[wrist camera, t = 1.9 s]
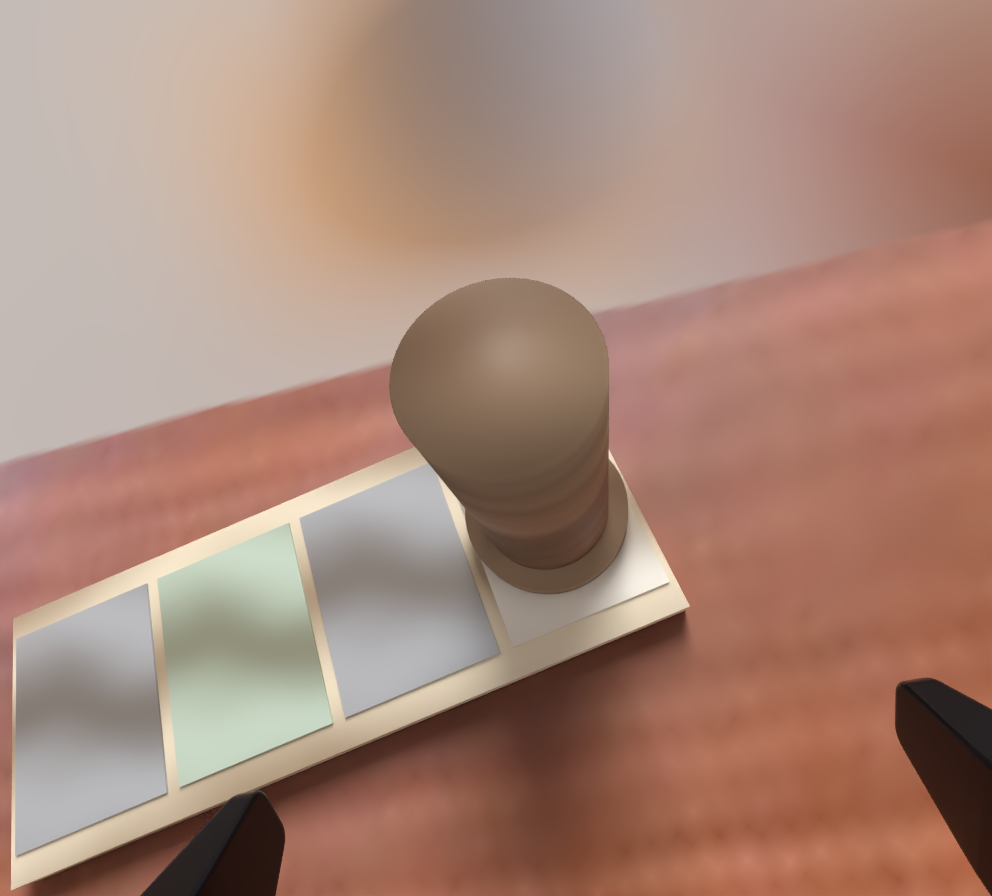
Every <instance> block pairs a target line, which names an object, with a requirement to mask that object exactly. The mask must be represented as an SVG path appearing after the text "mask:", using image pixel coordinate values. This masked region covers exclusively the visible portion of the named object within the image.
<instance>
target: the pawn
mask: <svg viewBox="0 0 992 896" xmlns="http://www.w3.org/2000/svg"><path fill="white" fill-rule="evenodd" d="M389 389H390V399H391V404H392V408H393V412H394V414H395V417H396V419H397V421H398V424H399V425H400V427H401V429H402V430H403V432H404V433H405V435H406V436H407V437H408V439H409V440H410V441H411V442H412V444H413V445H414V446H415V447H416V449H417V450H418V451H419V452H420V453H421V455H422V456H423V457H424V458H425V460H426V461H427V462H428V463H429V465H430V466H431V467H432V468H433V470H434V471H435V472H436V473H437V475H438V476H439V477H440V478H441V479H442V481H443V482H444V483H445V484H446V486H447V487H448V488H449V489H450V491H451V492H452V493H453V494H454V496H455V497H456V498H457V499H458V500H459V502H460V503H461V504H462V505H463V507H464V508H465V521H466V528H467V532H468V535H469V539H470V541H471V543H472V545H473V548H474V549H475V551H476V553H477V554H478V556H479V557H480V559H481V560H482V561H483V562H484V563H485V565H486V566H487V567H488V568H489V569H490V570H491V571H493V572H494V573H495V574H496V575H497V576H498V577H499V578H501V579H502V580H503V581H505V582H506V583H508V584H510V585H512V586H514V587H516V588H518V589H521V590H524V591H527V592H532V593H537V594H559V593H564V592H569V591H572V590H575V589H578V588H580V587H582V586H584V585H586V584H588V583H590V582H592V581H593V580H595V579H596V578H597V577H599V576H600V575H601V574H602V573H603V572H604V571H605V570H606V569H607V568H608V567H609V566H610V565H611V563H612V562H613V561H614V559H615V558H616V556H617V554H618V553H619V551H620V549H621V546H622V544H623V541H624V538H625V535H626V529H627V522H628V498H627V492H626V489H625V485H624V483H623V480H622V478H621V476H620V474H619V472H618V470H617V469H616V467H615V466H614V464H613V463H612V462H611V461H610V459H609V358H608V351H607V346H606V342H605V339H604V336H603V334H602V332H601V329H600V327H599V325H598V324H597V322H596V321H595V319H594V318H593V316H592V315H591V313H590V312H589V311H588V310H587V309H586V308H585V307H584V306H583V305H582V304H581V303H580V302H579V301H577V300H576V299H575V298H574V297H572V296H571V295H569V294H567V293H566V292H564V291H562V290H561V289H558V288H556V287H554V286H551V285H549V284H546V283H542V282H539V281H534V280H529V279H520V278H499V279H492V280H485V281H481V282H478V283H474V284H471V285H468V286H465V287H463V288H460V289H458V290H456V291H454V292H452V293H450V294H448V295H446V296H445V297H443V298H441V299H440V300H438V301H437V302H435V303H434V304H433V305H432V306H430V307H429V308H428V309H427V310H425V311H424V312H423V313H422V314H421V315H420V316H419V317H418V318H417V319H416V321H415V322H414V323H413V324H412V325H411V327H410V328H409V329H408V331H407V332H406V334H405V335H404V337H403V339H402V340H401V342H400V344H399V347H398V349H397V351H396V353H395V356H394V359H393V363H392V367H391V373H390V385H389Z"/></svg>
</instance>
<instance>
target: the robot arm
mask: <svg viewBox="0 0 992 896" xmlns="http://www.w3.org/2000/svg"><path fill="white" fill-rule="evenodd" d="M895 728H896V733H897V736H898V739H899V741H900V744H901V746H902V747H903V749H904V751H905V753H906V754H907V756H908V758H909V760H910V761H911V763H912V765H913V767H914V768H915V770H916V772H917V773H918V775H919V777H920V779H921V780H922V782H923V784H924V786H925V787H926V789H927V791H928V792H929V794H930V796H931V798H932V799H933V801H934V803H935V804H936V806H937V808H938V810H939V811H940V813H941V815H942V817H943V818H944V820H945V822H946V823H947V825H948V827H949V829H950V830H951V832H952V834H953V836H954V837H955V839H956V841H957V842H958V844H959V846H960V848H961V849H962V851H963V853H964V854H965V856H966V858H967V859H968V861H969V863H970V864H971V866H972V868H973V869H974V871H975V872H976V874H977V875H978V877H979V878H980V880H981V881H982V883H983V884H984V886H985V887H986V889H987V890H988V892H989V893H990V895H991V896H992V709H990V708H988V707H987V706H985V705H983V704H981V703H979V702H977V701H975V700H974V699H972V698H970V697H968V696H966V695H964V694H962V693H961V692H959V691H957V690H955V689H953V688H951V687H950V686H948V685H946V684H944V683H942V682H940V681H938V680H936V679H933V678H920V679H914V680H908V681H902V682H900V683H899V684H898V685H897V687H896V700H895ZM284 844H285V831H284V827H283V824H282V822H281V820H280V819H279V817H278V815H277V813H276V811H275V810H274V808H273V806H272V804H271V803H270V801H269V799H268V797H267V796H266V794H265V793H264V792H262V791H252V792H246V793H240V794H237V795H235V796H233V797H232V798H231V799H230V800H228V801H227V802H226V804H225V805H224V806H223V807H222V808H221V809H220V810H219V811H218V812H217V813H216V814H215V815H214V817H213V818H212V819H211V820H210V821H209V822H208V823H207V824H206V825H205V826H204V827H203V828H202V829H201V831H200V832H199V833H198V834H197V835H196V836H195V837H194V838H193V839H192V840H191V841H190V842H189V844H188V845H187V846H186V847H185V848H184V849H183V850H182V851H181V852H180V853H179V854H178V855H177V857H176V858H175V859H174V860H173V861H172V862H171V863H170V864H169V865H168V866H167V867H166V868H165V869H164V871H163V872H162V873H161V874H160V875H159V876H158V877H157V878H156V879H155V880H154V881H153V882H152V884H151V885H150V886H149V887H148V888H147V889H146V890H145V891H144V892H143V893H142V894H141V895H140V896H275V895H276V890H277V884H278V879H279V873H280V867H281V862H282V856H283V851H284Z"/></svg>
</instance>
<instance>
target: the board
mask: <svg viewBox="0 0 992 896" xmlns="http://www.w3.org/2000/svg"><path fill="white" fill-rule="evenodd" d="M609 459H610V461H611V462H612V463H613V464H614V466H615V467H616V469H617V470H618V472H619V474H620V476H621V478H622V480H623V483H624V485H625V489H626V492H627V498H628V522H627V529H626V535H625V538H624V541H623V544H622V546H621V549H620V551H619V553H618V554H617V556H616V558H615V559H614V561H613V562H612V563H611V565H610V566H609V567H608V568H607V569H606V570H605V571H604V572H603V573H602V574H601V575H600V576H599V577H597V578H596V579H595V580H593V581H592V582H590V583H588V584H586V585H584V586H582V587H580V588H578V589H575V590H572V591H569V592H564V593H559V594H537V593H532V592H527V591H524V590H521V589H518V588H516V587H514V586H512V585H510V584H508V583H506V582H505V581H503V580H502V579H501V578H499V577H498V576H497V575H496V574H495V573H494V572H493V571H491V570H490V569H489V568H488V567H487V566H486V565H485V563H484V562H483V561H482V560H481V559H480V557H479V556H478V554H477V553H476V551H475V549H474V548H473V545H472V543H471V541H470V539H469V535H468V532H467V528H466V521H465V508H464V507H463V505H462V504H461V503H460V502H459V500H458V499H457V498H456V497H455V496H454V494H453V493H452V492H451V491H450V489H449V488H448V487H447V486H446V484H445V483H444V482H443V481H442V479H441V478H440V477H439V476H438V475H437V473H436V472H435V471H434V470H433V468H432V467H431V466H430V465H429V463H428V462H427V461H426V460H425V458H424V457H423V456H422V455H421V453H420V452H419V451H418V450H417V449H416V447H413V448H411V449H409V450H406V451H404V452H402V453H399V454H397V455H395V456H392V457H390V458H388V459H385V460H383V461H381V462H378V463H376V464H373V465H371V466H369V467H366V468H364V469H362V470H359V471H357V472H355V473H352V474H350V475H348V476H345V477H343V478H341V479H338V480H336V481H334V482H331V483H329V484H327V485H324V486H322V487H320V488H317V489H315V490H313V491H310V492H308V493H306V494H303V495H301V496H299V497H296V498H294V499H292V500H289V501H287V502H285V503H282V504H280V505H278V506H275V507H273V508H271V509H268V510H266V511H264V512H261V513H259V514H257V515H254V516H252V517H250V518H247V519H245V520H243V521H240V522H238V523H236V524H233V525H231V526H228V527H226V528H224V529H221V530H219V531H217V532H214V533H212V534H210V535H207V536H205V537H203V538H200V539H198V540H196V541H193V542H191V543H189V544H186V545H184V546H182V547H179V548H177V549H175V550H172V551H170V552H168V553H165V554H163V555H161V556H158V557H156V558H154V559H151V560H149V561H147V562H144V563H142V564H140V565H137V566H135V567H133V568H130V569H128V570H126V571H123V572H121V573H119V574H116V575H114V576H112V577H109V578H107V579H105V580H102V581H100V582H98V583H95V584H93V585H91V586H88V587H86V588H84V589H81V590H79V591H76V592H74V593H72V594H69V595H67V596H65V597H62V598H60V599H58V600H55V601H53V602H51V603H48V604H46V605H44V606H41V607H39V608H37V609H34V610H32V611H30V612H27V613H25V614H23V615H20V616H18V617H16V618H13V721H12V844H11V890H14V889H17V888H20V887H22V886H25V885H28V884H31V883H34V882H37V881H40V880H43V879H45V878H47V877H50V876H52V875H55V874H57V873H59V872H62V871H64V870H66V869H69V868H71V867H74V866H76V865H78V864H81V863H83V862H86V861H88V860H90V859H93V858H95V857H98V856H100V855H102V854H105V853H107V852H110V851H112V850H114V849H117V848H119V847H121V846H124V845H126V844H129V843H131V842H133V841H136V840H138V839H141V838H143V837H145V836H148V835H150V834H153V833H155V832H157V831H160V830H162V829H164V828H167V827H169V826H172V825H174V824H176V823H179V822H181V821H184V820H186V819H188V818H191V817H193V816H196V815H198V814H200V813H203V812H205V811H208V810H210V809H212V808H215V807H217V806H219V805H222V804H224V803H226V802H227V801H228V800H230V799H231V798H232V797H233V796H235V795H237V794H240V793H246V792H252V791H255V790H258V789H260V788H262V787H265V786H267V785H270V784H272V783H274V782H277V781H279V780H282V779H284V778H286V777H289V776H291V775H294V774H296V773H298V772H301V771H303V770H306V769H308V768H310V767H313V766H315V765H317V764H320V763H322V762H325V761H327V760H329V759H332V758H334V757H337V756H339V755H341V754H344V753H346V752H349V751H351V750H353V749H356V748H358V747H361V746H363V745H365V744H368V743H370V742H372V741H375V740H377V739H380V738H382V737H384V736H387V735H389V734H392V733H394V732H396V731H399V730H401V729H404V728H406V727H408V726H411V725H413V724H415V723H418V722H420V721H423V720H425V719H427V718H430V717H432V716H435V715H437V714H439V713H442V712H444V711H447V710H449V709H451V708H454V707H456V706H459V705H461V704H463V703H466V702H468V701H470V700H473V699H475V698H478V697H480V696H482V695H485V694H487V693H490V692H492V691H494V690H497V689H499V688H502V687H504V686H506V685H509V684H511V683H513V682H516V681H518V680H521V679H523V678H525V677H528V676H530V675H533V674H535V673H537V672H540V671H542V670H545V669H547V668H549V667H552V666H554V665H557V664H559V663H561V662H564V661H566V660H568V659H571V658H573V657H576V656H578V655H580V654H583V653H585V652H588V651H590V650H592V649H595V648H597V647H600V646H602V645H604V644H607V643H609V642H612V641H614V640H616V639H619V638H621V637H623V636H626V635H628V634H631V633H633V632H635V631H638V630H640V629H643V628H645V627H647V626H650V625H652V624H655V623H657V622H659V621H662V620H664V619H666V618H669V617H671V616H674V615H676V614H678V613H681V612H683V611H686V610H687V609H688V608H689V607H690V606H689V604H688V602H687V600H686V598H685V596H684V594H683V592H682V590H681V588H680V586H679V584H678V583H677V581H676V579H675V577H674V575H673V573H672V571H671V569H670V567H669V565H668V563H667V561H666V559H665V557H664V555H663V553H662V552H661V550H660V548H659V546H658V544H657V542H656V540H655V538H654V536H653V534H652V532H651V530H650V528H649V526H648V524H647V522H646V520H645V519H644V517H643V515H642V513H641V511H640V509H639V507H638V505H637V503H636V501H635V499H634V497H633V495H632V493H631V491H630V489H629V488H628V486H627V484H626V482H625V480H624V478H623V476H622V474H621V472H620V470H619V468H618V466H617V464H616V462H615V460H614V458H613V457H612V455H611V453H610V451H609Z"/></svg>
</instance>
